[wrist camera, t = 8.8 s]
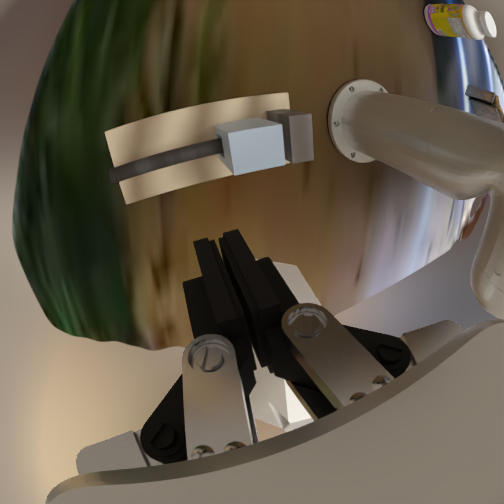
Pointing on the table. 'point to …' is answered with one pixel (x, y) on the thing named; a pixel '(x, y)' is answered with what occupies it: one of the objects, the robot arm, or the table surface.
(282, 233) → the table surface
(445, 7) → the supplement bottle
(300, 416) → the milk
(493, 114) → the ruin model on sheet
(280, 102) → the board
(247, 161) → the sleeve
